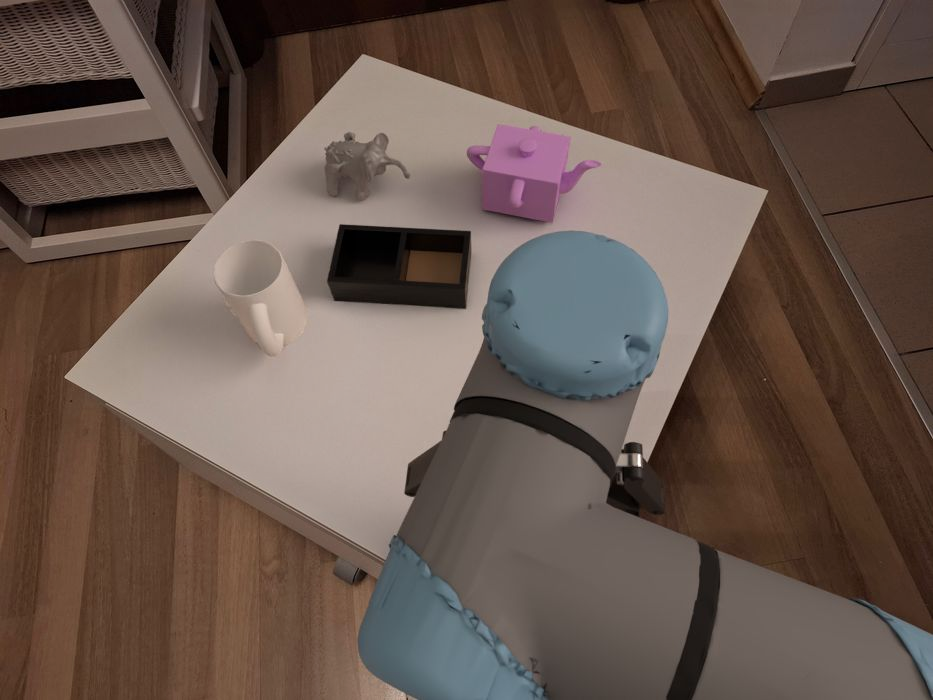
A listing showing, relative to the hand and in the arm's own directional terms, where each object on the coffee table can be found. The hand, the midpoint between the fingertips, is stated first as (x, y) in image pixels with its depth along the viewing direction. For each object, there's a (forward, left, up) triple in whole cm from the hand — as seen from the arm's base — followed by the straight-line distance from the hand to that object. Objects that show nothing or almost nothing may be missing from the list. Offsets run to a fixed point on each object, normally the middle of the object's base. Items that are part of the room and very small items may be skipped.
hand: (527, 512), depth 58 cm
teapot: (+48, +1, -14) cm, 50 cm away
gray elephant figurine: (+50, +24, -14) cm, 57 cm away
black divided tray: (+34, +17, -14) cm, 40 cm away
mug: (+24, +32, -14) cm, 42 cm away
